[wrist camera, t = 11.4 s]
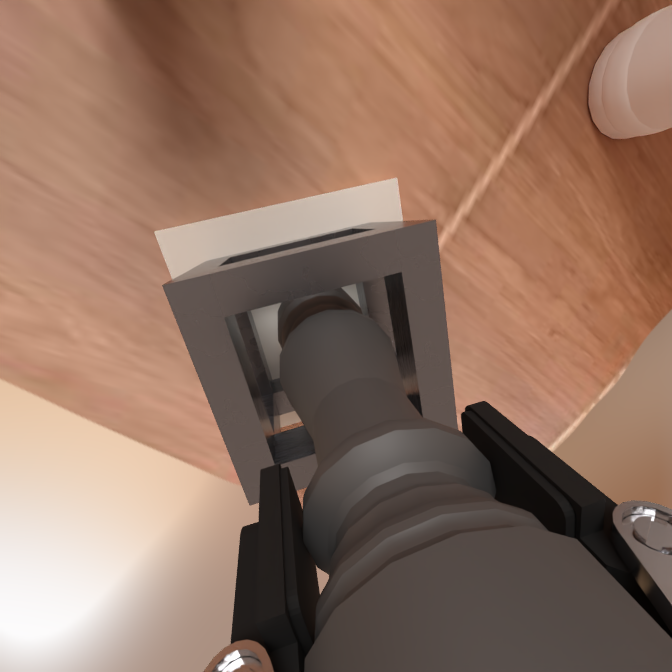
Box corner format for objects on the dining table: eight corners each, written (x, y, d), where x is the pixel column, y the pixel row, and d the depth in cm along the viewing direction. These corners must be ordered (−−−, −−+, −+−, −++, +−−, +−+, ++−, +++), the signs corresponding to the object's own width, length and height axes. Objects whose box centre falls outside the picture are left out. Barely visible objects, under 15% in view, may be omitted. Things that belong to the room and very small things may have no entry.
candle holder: (369, 329, 27) (919, 951, 4) (304, 369, 28) (473, 1193, 4) (330, 263, 25) (1046, 790, 2) (260, 307, 25) (89, 1322, 2)
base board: (392, 179, 26) (397, 177, 25) (421, 380, 32) (425, 384, 32) (158, 231, 24) (153, 231, 23) (235, 434, 31) (234, 441, 30)
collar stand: (369, 222, 26) (435, 219, 16) (394, 367, 30) (458, 438, 20) (205, 260, 25) (162, 285, 14) (256, 406, 29) (249, 505, 19)
